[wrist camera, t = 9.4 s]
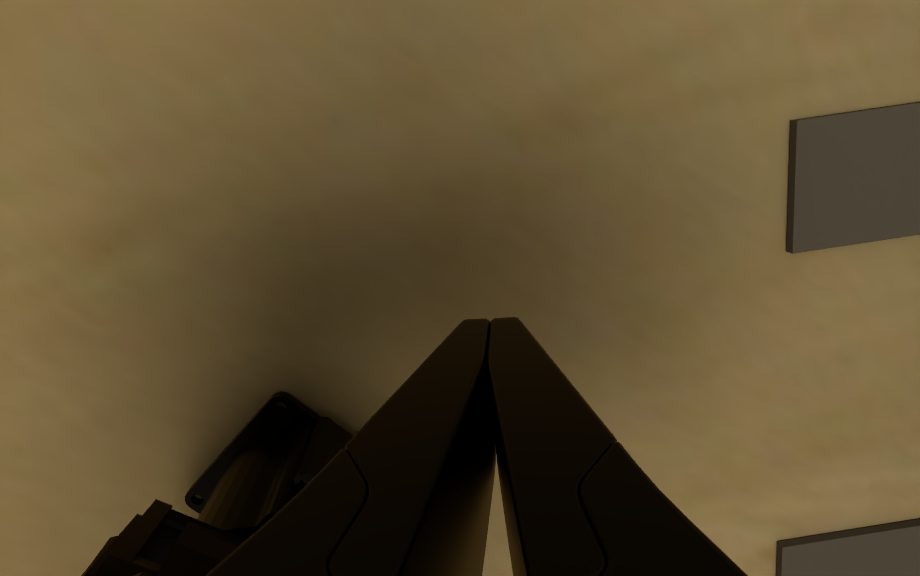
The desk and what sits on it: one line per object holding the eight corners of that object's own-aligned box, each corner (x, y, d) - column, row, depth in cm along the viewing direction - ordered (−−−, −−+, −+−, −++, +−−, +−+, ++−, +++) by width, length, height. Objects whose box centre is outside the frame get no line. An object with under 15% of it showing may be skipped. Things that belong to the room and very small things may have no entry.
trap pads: (774, 624, 28) (779, 631, 28) (790, 120, 21) (797, 120, 21) (992, 589, 29) (1000, 595, 28) (1079, 78, 22) (1090, 78, 21)
